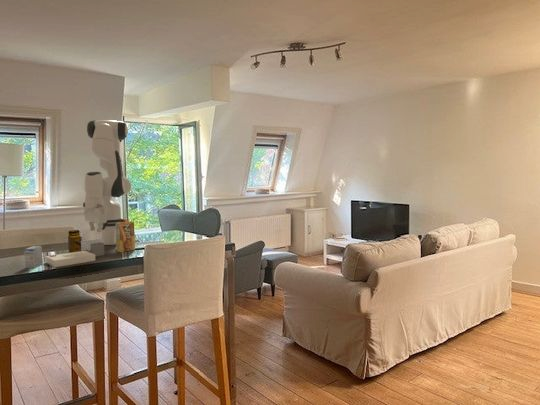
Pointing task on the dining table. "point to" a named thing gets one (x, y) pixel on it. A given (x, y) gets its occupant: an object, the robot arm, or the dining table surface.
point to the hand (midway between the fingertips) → (96, 231)
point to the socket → (70, 258)
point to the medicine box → (33, 256)
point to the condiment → (74, 241)
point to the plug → (97, 248)
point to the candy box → (125, 236)
